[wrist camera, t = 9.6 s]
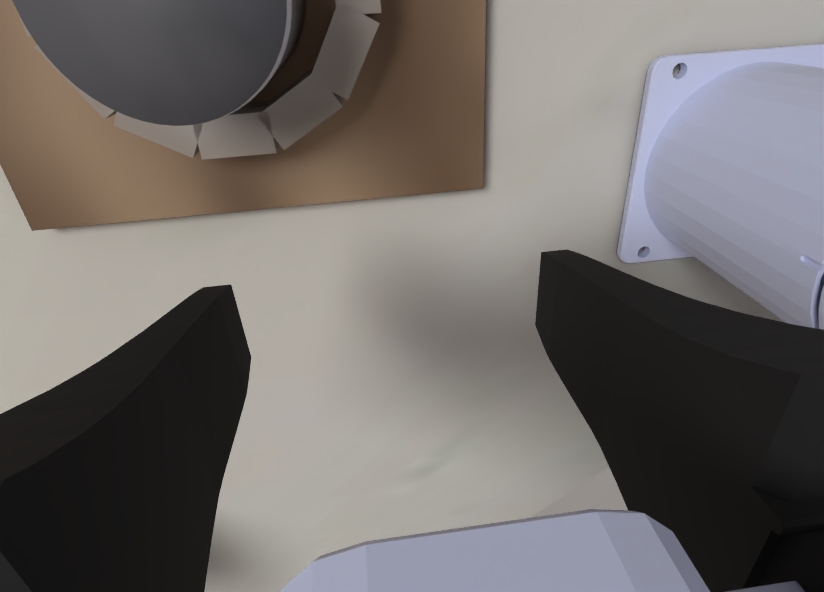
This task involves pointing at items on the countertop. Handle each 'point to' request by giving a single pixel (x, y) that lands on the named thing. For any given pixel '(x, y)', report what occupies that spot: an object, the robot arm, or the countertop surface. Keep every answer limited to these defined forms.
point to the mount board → (318, 168)
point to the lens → (167, 51)
